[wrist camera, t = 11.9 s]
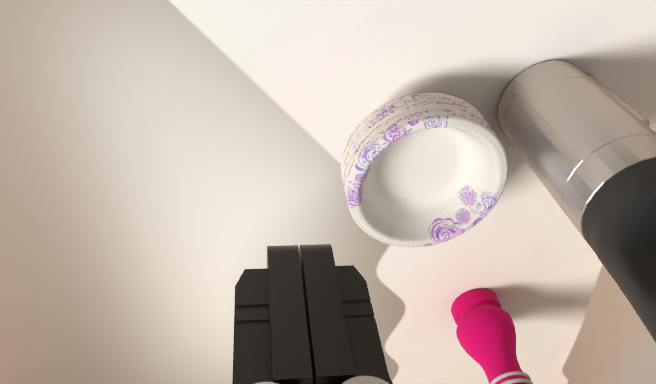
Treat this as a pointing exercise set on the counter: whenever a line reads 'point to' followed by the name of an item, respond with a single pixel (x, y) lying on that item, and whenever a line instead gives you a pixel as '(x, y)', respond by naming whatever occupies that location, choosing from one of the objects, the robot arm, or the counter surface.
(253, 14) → the counter surface
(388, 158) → the paper bowls
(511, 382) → the pepper mill
